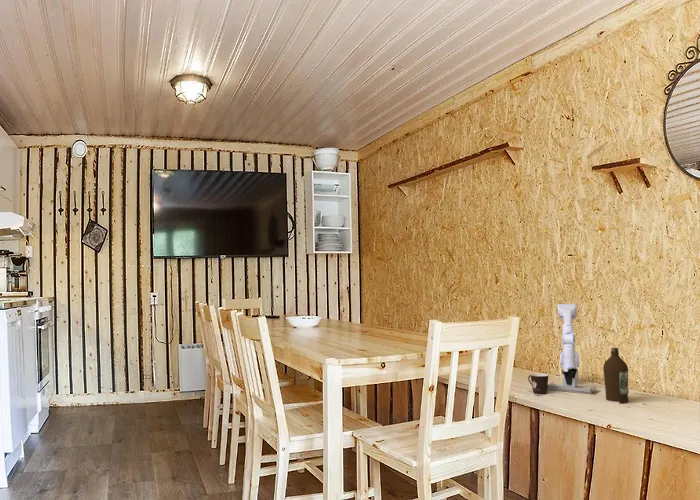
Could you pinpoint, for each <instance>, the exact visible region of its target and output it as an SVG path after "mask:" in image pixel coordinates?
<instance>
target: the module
mask: <svg viewBox="0 0 700 500" xmlns="http://www.w3.org/2000/svg"><path fill="white" fill-rule="evenodd" d="M562 385H563V386H567V387H577V386H578V384H577V378H572V384H571V385H567V383H566V380H565V377H564V378H563V377H562Z"/></svg>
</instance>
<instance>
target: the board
mask: <svg viewBox="0 0 700 500" xmlns="http://www.w3.org/2000/svg"><path fill="white" fill-rule="evenodd" d="M549 391H551V392H552V391H553V392H556V391H555V390H549ZM559 392H560V393H561V392H562V393H566V392H565V391H559ZM600 392H601V390H596V391H595V392H594V393H593V394H589V395H591V396H596V395H597V394H599V393H600ZM569 393H570V394H576V393H575V392H569ZM579 394H583V395H586V394H585V393H579Z"/></svg>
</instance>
